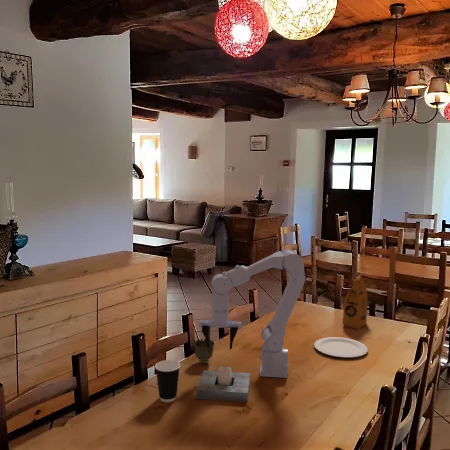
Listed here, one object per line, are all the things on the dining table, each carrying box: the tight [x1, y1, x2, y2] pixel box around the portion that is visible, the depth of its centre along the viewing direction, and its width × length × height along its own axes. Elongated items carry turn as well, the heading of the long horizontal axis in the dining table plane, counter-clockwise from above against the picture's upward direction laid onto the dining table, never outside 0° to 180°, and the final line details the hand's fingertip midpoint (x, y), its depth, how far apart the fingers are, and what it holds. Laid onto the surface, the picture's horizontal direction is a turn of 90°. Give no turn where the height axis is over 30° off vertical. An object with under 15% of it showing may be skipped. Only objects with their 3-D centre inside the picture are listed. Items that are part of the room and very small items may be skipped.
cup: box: [193, 338, 215, 365], centre depth 177 cm, size 8×7×8 cm
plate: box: [313, 336, 369, 359], centre depth 191 cm, size 21×21×2 cm
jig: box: [196, 369, 251, 403], centre depth 157 cm, size 16×14×3 cm
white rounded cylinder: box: [217, 365, 233, 386], centre depth 157 cm, size 4×4×7 cm
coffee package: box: [342, 275, 368, 330], centre depth 219 cm, size 10×12×22 cm
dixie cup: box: [154, 359, 181, 403], centre depth 150 cm, size 8×8×11 cm
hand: (219, 347), depth 167 cm, fingers open, 7 cm apart
